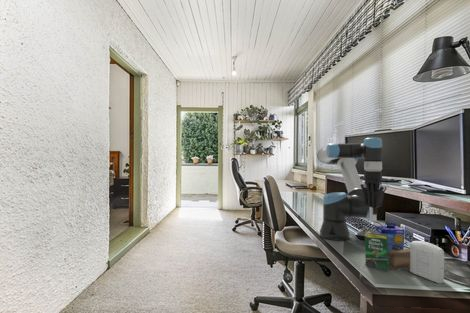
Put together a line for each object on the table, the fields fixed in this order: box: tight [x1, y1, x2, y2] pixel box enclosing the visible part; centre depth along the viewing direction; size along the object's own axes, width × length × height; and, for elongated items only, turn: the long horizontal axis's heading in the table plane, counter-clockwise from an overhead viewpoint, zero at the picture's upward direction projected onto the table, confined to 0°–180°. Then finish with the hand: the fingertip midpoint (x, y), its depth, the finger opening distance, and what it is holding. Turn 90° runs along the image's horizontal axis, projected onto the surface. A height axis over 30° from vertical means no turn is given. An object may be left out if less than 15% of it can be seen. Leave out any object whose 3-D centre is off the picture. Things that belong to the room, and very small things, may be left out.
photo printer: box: [409, 240, 445, 284], centre depth 92 cm, size 10×4×12 cm, turn 24°
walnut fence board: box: [389, 248, 410, 271], centre depth 102 cm, size 2×20×6 cm, turn 108°
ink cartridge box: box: [375, 222, 405, 256], centre depth 112 cm, size 10×6×14 cm, turn 88°
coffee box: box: [364, 231, 390, 271], centre depth 100 cm, size 8×3×13 cm, turn 49°
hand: (373, 220), depth 121 cm, fingers closed
